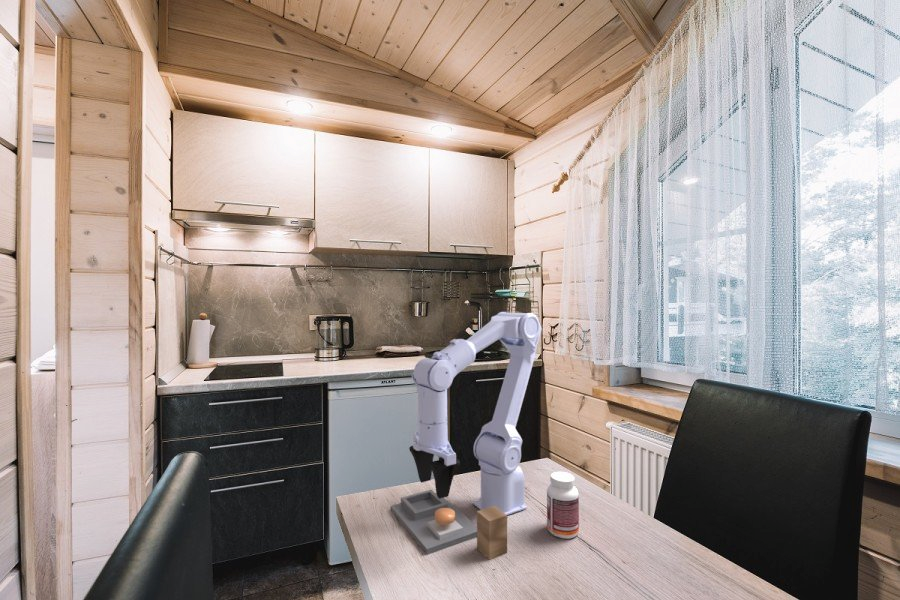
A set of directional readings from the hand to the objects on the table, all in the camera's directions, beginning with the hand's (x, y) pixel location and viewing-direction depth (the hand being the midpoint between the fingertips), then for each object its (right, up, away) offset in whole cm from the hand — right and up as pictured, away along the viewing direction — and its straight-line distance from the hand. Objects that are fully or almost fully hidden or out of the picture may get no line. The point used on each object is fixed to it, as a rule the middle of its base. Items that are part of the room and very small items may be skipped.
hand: (433, 488), depth 81 cm
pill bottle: (+26, -10, +2) cm, 28 cm away
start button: (+2, -6, +1) cm, 7 cm away
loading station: (0, -9, +5) cm, 11 cm away
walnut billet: (+11, -9, -5) cm, 15 cm away
